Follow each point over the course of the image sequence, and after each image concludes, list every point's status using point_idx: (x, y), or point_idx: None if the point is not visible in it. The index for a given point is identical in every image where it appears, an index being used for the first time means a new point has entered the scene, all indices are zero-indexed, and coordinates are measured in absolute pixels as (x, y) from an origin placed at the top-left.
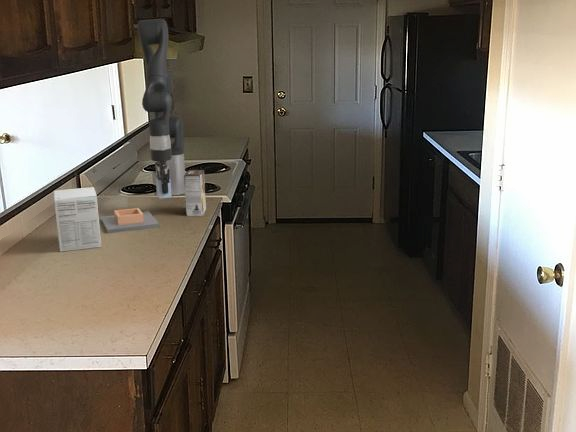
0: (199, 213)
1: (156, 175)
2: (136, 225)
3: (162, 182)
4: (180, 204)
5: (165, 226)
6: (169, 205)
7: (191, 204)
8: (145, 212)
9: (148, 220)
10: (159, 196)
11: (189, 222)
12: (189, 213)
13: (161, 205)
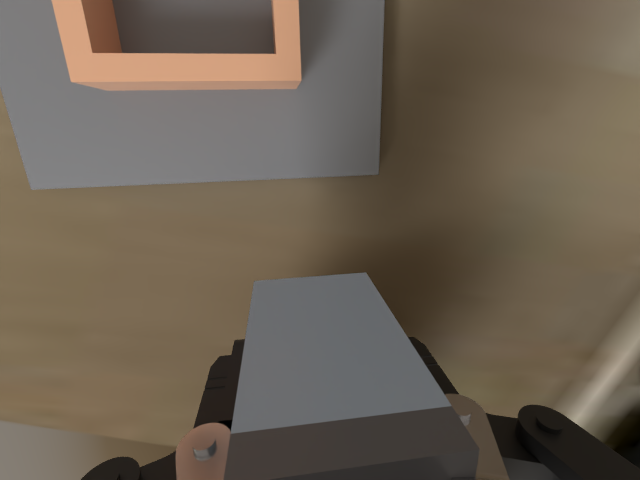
0: None
1: (442, 465)
2: (2, 9)
3: (94, 478)
4: (481, 355)
5: (48, 226)
6: (494, 304)
7: None
8: (358, 147)
9: (137, 132)
10: (253, 291)
11: (109, 361)
12: None
13: (518, 266)
